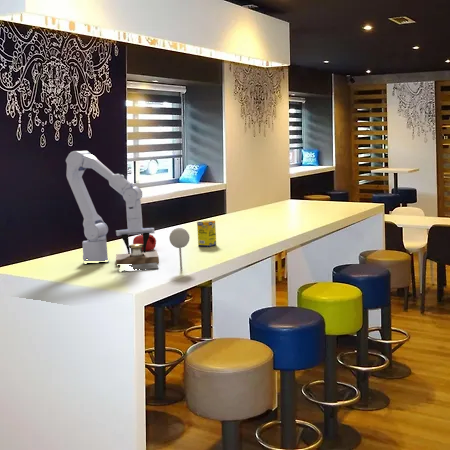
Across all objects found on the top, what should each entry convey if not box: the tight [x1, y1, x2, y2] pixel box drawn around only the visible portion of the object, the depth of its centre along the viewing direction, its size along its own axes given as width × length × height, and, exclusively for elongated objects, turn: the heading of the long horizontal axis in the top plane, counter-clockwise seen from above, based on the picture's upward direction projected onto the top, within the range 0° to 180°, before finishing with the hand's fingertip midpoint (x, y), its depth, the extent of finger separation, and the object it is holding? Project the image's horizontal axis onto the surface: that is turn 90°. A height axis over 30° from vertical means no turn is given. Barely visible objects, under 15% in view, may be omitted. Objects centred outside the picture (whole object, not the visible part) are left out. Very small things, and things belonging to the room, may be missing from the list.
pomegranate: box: [132, 233, 157, 252], centre depth 264 cm, size 10×10×9 cm
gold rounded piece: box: [129, 243, 143, 257], centre depth 238 cm, size 5×5×6 cm
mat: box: [129, 263, 159, 271], centre depth 226 cm, size 14×10×1 cm
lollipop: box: [169, 227, 190, 271], centre depth 218 cm, size 7×7×15 cm
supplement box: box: [196, 220, 217, 248], centre depth 267 cm, size 6×6×11 cm
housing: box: [115, 250, 160, 264], centre depth 238 cm, size 16×12×2 cm
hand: (136, 252), depth 238 cm, fingers closed on gold rounded piece, 5 cm apart
